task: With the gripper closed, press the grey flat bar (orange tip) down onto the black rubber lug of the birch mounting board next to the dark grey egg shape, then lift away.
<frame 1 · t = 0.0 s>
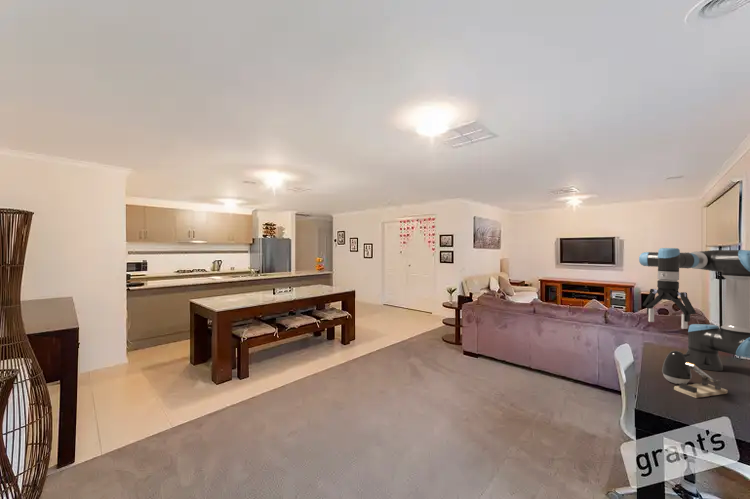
hand: (667, 325, 149), 28 cm above the table, fingers open, 13 cm apart
grey flat bar: (701, 372, 141), point 8 cm above the table, hinge at 30.0°
mount: (700, 391, 141), on the table
dark grey egg shape: (676, 382, 151), on the table
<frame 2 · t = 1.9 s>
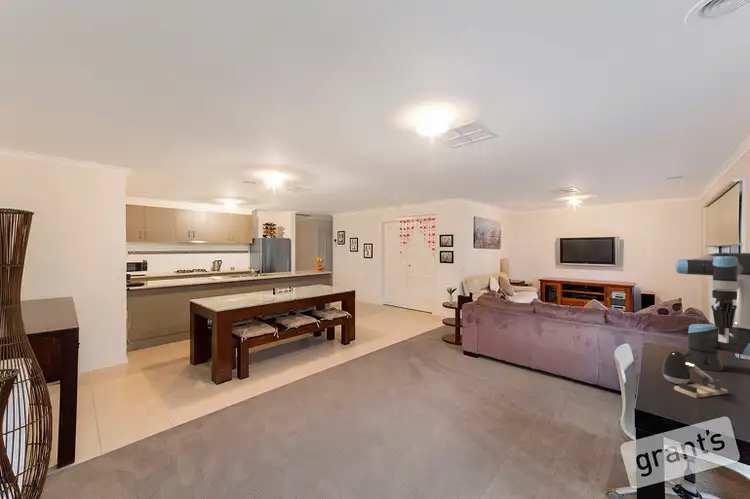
hand: (723, 342, 142), 22 cm above the table, fingers closed
nothing on the table moved.
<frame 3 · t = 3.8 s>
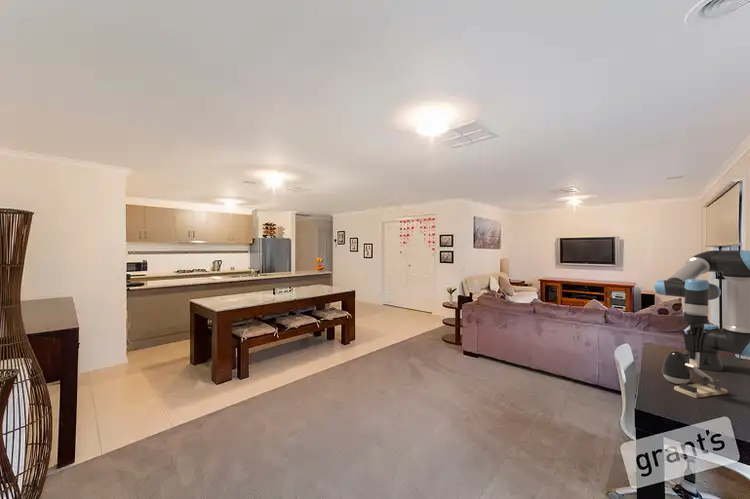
hand: (694, 366, 140), 12 cm above the table, fingers closed
grey flat bar: (700, 373, 141), point 8 cm above the table, hinge at 28.3°, touching gripper
everything else where it was.
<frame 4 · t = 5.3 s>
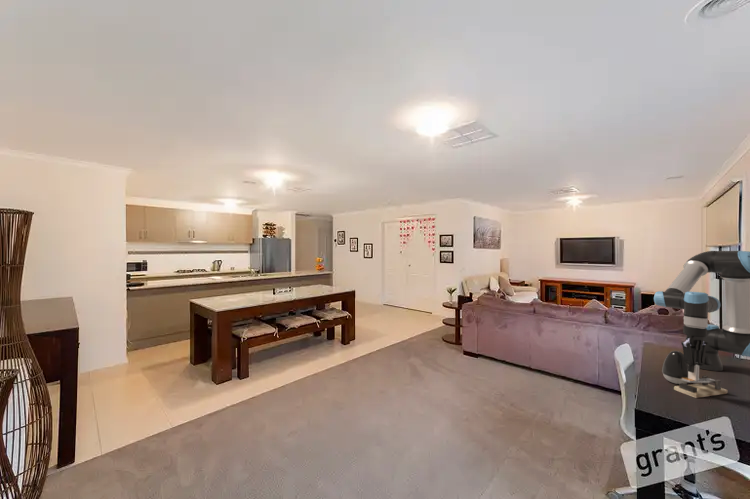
hand: (693, 379, 140), 6 cm above the table, fingers closed, pressing on grey flat bar
grey flat bar: (699, 380, 141), point 5 cm above the table, hinge at 4.9°, touching gripper
everything else where it was.
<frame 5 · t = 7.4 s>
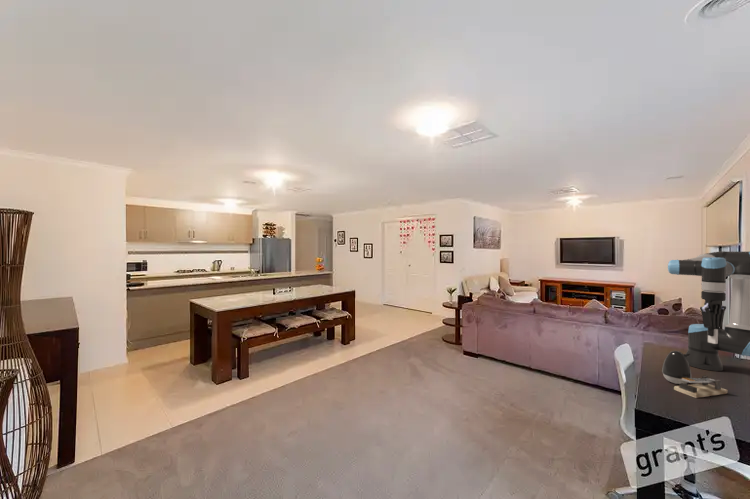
hand: (712, 342, 142), 22 cm above the table, fingers closed
grey flat bar: (699, 380, 141), point 5 cm above the table, hinge at 4.7°
everything else where it was.
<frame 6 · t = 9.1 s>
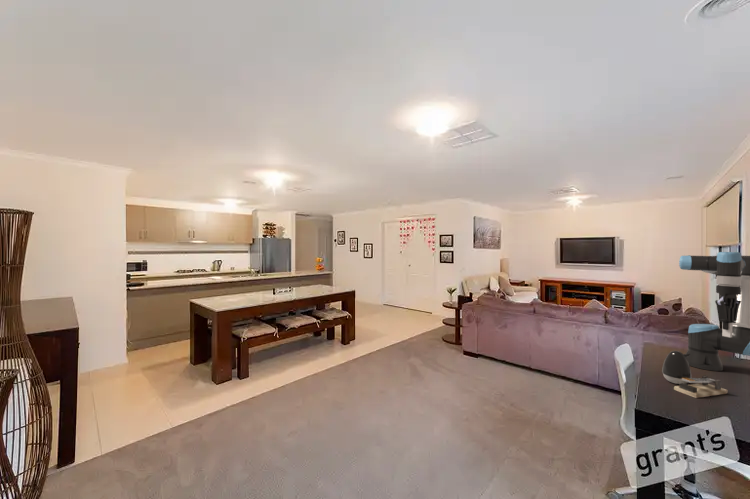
hand: (727, 336, 144), 24 cm above the table, fingers closed
nothing on the table moved.
at the end: grey flat bar at +5° (first picture: +30°); dark grey egg shape moved 0.2 cm from its start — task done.
